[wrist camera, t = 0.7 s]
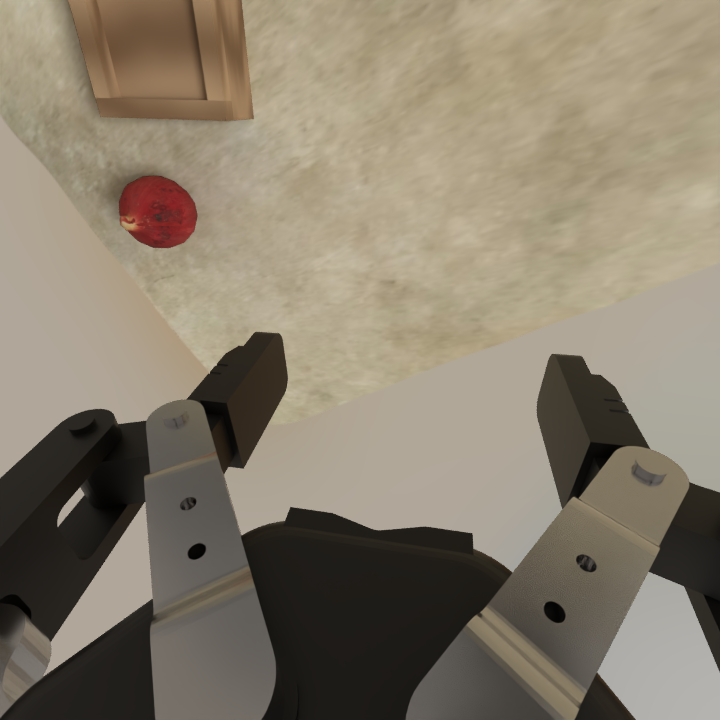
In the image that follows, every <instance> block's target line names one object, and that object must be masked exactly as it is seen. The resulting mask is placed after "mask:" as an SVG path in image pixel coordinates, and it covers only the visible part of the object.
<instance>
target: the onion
mask: <svg viewBox="0 0 720 720" xmlns="http://www.w3.org/2000/svg"><path fill="white" fill-rule="evenodd" d="M119 213H120V225H121V226H122V227H124V228H125V230H126V231H128V232H129V233H130V234H131V235H132V236H133V237H134V238H135V239H137V240H138V241H139V242H141V243H143V244H146V245H148V246H150V247H153V248H171V247H174V246H176V245H179V244H182V243H184V242H185V241H186V240H187V239H188V238H189V237H190V235H191V234H192V233H193V232H194V230H195V225H196V221H197V211H196V207H195V203H194V201H193V200H192V198H191V197H190V195H189V194H188V192H187V191H186V190H184V189H183V188H182V187H181V186H179V185H178V184H177V183H175V182H174V181H172V180H169V179H167V178H164V177H161V176H146V177H141V178H139V179H137V180H135V181H133V182H131V183H130V184H128V185H127V186H126V187H125V188H124V190H123V193H122V195H121V198H120V201H119Z"/></svg>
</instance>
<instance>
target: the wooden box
mask: <svg viewBox="0 0 720 720" xmlns="http://www.w3.org/2000/svg"><path fill="white" fill-rule="evenodd" d="M68 1H69V4H70V8H71V12H72V15H73V19H74V22H75V26H76V30H77V33H78V37H79V41H80V44H81V48H82V51H83V55H84V59H85V62H86V66H87V69H88V73H89V77H90V80H91V84H92V87H93V91H94V95H95V98H96V102H97V105H98V109H99V113H100V116H101V117H119V118H153V119H186V120H219V121H229V120H242V119H254V115H253V106H252V96H251V87H250V77H249V68H248V58H247V49H246V39H245V29H244V20H243V10H242V1H241V0H68Z"/></svg>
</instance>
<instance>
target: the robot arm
mask: <svg viewBox="0 0 720 720" xmlns="http://www.w3.org/2000/svg"><path fill="white" fill-rule="evenodd" d="M287 381H288V374H287V367H286V360H285V353H284V346H283V340H282V337H281V335H280V334H279V333H267V332H255V333H254V334H253V335H252V336H251V338H250V339H249V340H248V341H247V342H246V344H245V345H244V346H238V347H236V348H234V349H233V350H231V351H229V352H228V353H226V354H225V355H224V356H223V357H222V359H221V360H220V361H219V362H218V363H217V366H215V367H214V368H213V369H212V370H211V371H210V374H208V375H207V376H206V377H205V378H204V380H203V381H202V382H201V383H200V384H199V386H198V387H197V388H196V389H195V390H194V391H193V392H192V394H191V395H190V396H189V397H188V398H187V399H186V400H177V401H173V402H170V403H167V404H165V405H163V406H161V407H159V408H158V409H156V410H155V411H154V412H153V413H152V414H151V415H150V416H149V417H148V419H147V421H141V422H133V423H125V424H118V423H117V421H116V419H115V416H114V414H113V413H112V412H110V411H108V410H105V409H93V410H87V411H84V412H81V413H78V414H75V415H73V416H71V417H69V418H67V419H66V420H64V421H63V422H61V423H60V424H59V425H58V426H57V427H56V428H55V429H53V430H52V431H51V432H50V433H49V434H48V435H47V436H46V437H45V438H44V439H43V440H41V441H40V442H39V443H38V444H37V445H36V446H35V447H34V448H33V449H32V450H31V451H29V452H28V453H27V454H26V455H25V456H24V457H23V458H22V459H21V460H20V461H19V462H17V463H16V464H15V465H14V466H13V467H12V468H11V469H10V470H9V471H8V472H7V473H6V474H5V475H4V476H2V477H1V478H0V720H636V719H635V718H634V717H633V716H632V715H631V713H630V712H629V711H628V710H627V708H626V707H625V706H624V705H623V704H622V702H621V701H620V700H619V699H618V697H617V696H616V695H615V694H614V693H613V691H612V690H611V689H610V688H609V686H608V685H607V684H606V683H605V682H604V680H603V679H602V678H601V677H600V675H599V674H598V673H597V671H598V669H599V667H600V665H601V663H602V661H603V659H604V657H605V656H606V653H607V652H608V649H609V648H610V646H611V644H612V641H613V639H614V638H615V636H616V634H617V632H618V630H619V628H620V626H621V624H622V622H623V620H624V618H625V616H626V614H627V613H628V611H629V609H630V607H631V605H632V603H633V601H634V599H635V597H636V595H637V593H638V591H639V589H640V587H641V585H642V583H643V581H644V579H645V577H646V575H647V573H648V572H651V573H653V574H656V575H658V576H661V577H663V578H665V579H668V580H670V581H673V582H675V583H678V584H680V585H682V586H684V587H685V589H686V591H687V594H688V596H689V599H690V601H691V604H692V606H693V609H694V611H695V613H696V616H697V618H698V621H699V623H700V625H701V628H702V630H703V632H704V635H705V638H706V640H707V642H708V645H709V647H710V649H711V652H712V654H713V657H714V659H715V662H716V664H717V666H718V669H719V671H720V493H719V492H716V491H713V490H710V489H707V488H704V487H701V486H698V485H695V484H692V483H690V482H689V479H688V477H687V475H686V473H685V472H684V471H683V469H682V468H681V467H680V466H679V465H678V464H676V463H675V462H674V461H673V460H671V459H670V458H668V457H667V456H665V455H663V454H661V453H659V452H656V451H654V450H651V449H650V448H649V446H648V444H647V442H646V441H645V439H644V437H643V436H642V433H641V432H640V430H639V429H638V426H637V425H636V423H635V421H634V419H633V418H632V416H631V414H629V413H628V412H629V411H628V409H627V407H626V405H625V404H624V403H622V398H621V396H620V395H619V393H618V391H617V389H616V388H615V386H613V385H612V384H611V383H609V382H608V381H607V380H606V379H605V378H603V377H602V376H601V375H593V374H591V373H590V371H589V369H588V367H587V365H586V363H585V361H584V359H583V357H581V356H574V355H560V354H552V355H551V356H550V358H549V360H548V364H547V367H546V371H545V374H544V378H543V382H542V386H541V389H540V392H539V396H538V401H537V418H538V422H539V425H540V429H541V433H542V436H543V440H544V443H545V447H546V451H547V455H548V458H549V462H550V466H551V469H552V473H553V477H554V480H555V484H556V487H557V491H558V495H559V499H560V502H561V506H562V511H561V512H560V513H559V515H558V516H557V517H556V518H555V520H554V521H553V522H552V524H551V525H550V526H549V527H548V529H547V530H546V531H545V532H544V534H543V535H542V536H541V537H540V539H539V540H538V541H537V543H536V544H535V545H534V547H533V548H532V549H531V550H530V551H529V553H528V554H527V555H526V556H525V558H524V559H523V560H522V562H521V563H520V564H519V565H518V567H517V568H516V569H515V570H514V572H513V573H512V572H511V571H510V570H509V569H507V568H506V567H505V566H504V565H502V564H501V563H499V562H498V561H496V560H495V559H493V558H492V557H489V556H487V555H486V554H484V553H482V552H480V551H477V550H475V549H473V535H472V533H466V532H459V531H452V530H445V529H438V528H431V527H415V528H404V529H393V530H381V531H380V530H379V531H378V530H373V529H370V528H368V527H365V526H363V525H360V524H358V523H356V522H353V521H351V520H348V519H346V518H343V517H340V516H338V515H336V514H333V513H327V512H321V511H313V510H306V509H299V508H293V507H290V510H289V512H288V515H287V518H286V520H285V521H282V522H276V523H271V524H267V525H265V526H261V527H258V528H256V529H254V530H251V531H249V532H247V533H245V534H244V535H242V536H241V532H240V529H239V526H238V522H237V519H236V515H235V512H234V509H233V505H232V502H231V498H230V495H229V491H228V488H227V484H226V481H225V478H224V473H225V472H226V470H227V468H228V467H236V468H244V467H245V465H246V463H247V461H248V459H249V457H250V456H251V454H252V452H253V450H254V448H255V447H256V445H257V443H258V441H259V439H260V438H261V436H262V434H263V432H264V430H265V428H266V427H267V425H268V423H269V421H270V419H271V417H272V416H273V414H274V412H275V410H276V408H277V406H278V405H279V403H280V401H281V399H282V397H283V395H284V394H285V391H286V388H287ZM80 487H81V489H82V491H83V492H84V494H85V495H84V496H83V498H82V499H81V500H80V501H79V502H78V504H77V505H76V506H75V507H74V509H73V510H72V511H71V512H70V513H69V515H68V516H67V517H66V518H65V519H64V521H63V522H62V523H61V524H60V525H59V527H57V519H58V516H59V513H60V511H61V509H62V507H63V506H64V505H65V504H66V503H67V501H68V500H69V499H70V498H71V497H72V496H73V494H74V493H75V492H76V491H77V490H78V489H79V488H80ZM144 502H146V514H147V527H148V541H149V554H150V566H151V579H152V593H153V599H151V600H150V601H149V602H147V603H146V604H145V605H143V606H142V607H140V608H139V609H137V610H136V611H135V612H133V613H132V614H131V615H129V616H128V617H126V618H125V619H124V620H122V621H121V622H119V623H118V624H117V625H115V626H114V627H112V628H111V629H110V630H108V631H107V632H105V633H104V634H103V635H101V636H100V637H98V638H97V639H96V640H94V641H93V642H91V643H90V644H89V645H87V646H86V647H84V648H83V649H82V650H80V651H79V652H77V653H76V654H75V655H73V656H72V657H71V658H69V659H68V660H66V661H65V662H63V663H62V664H61V665H59V666H58V667H56V668H55V669H54V670H52V671H51V672H49V673H48V674H47V675H45V676H43V674H44V673H45V671H46V669H47V667H48V663H49V661H50V657H51V643H50V642H51V641H52V639H53V638H54V636H55V634H56V633H57V632H58V630H59V629H60V627H61V626H62V624H63V623H64V621H65V620H66V618H67V617H68V615H69V614H70V612H71V611H72V609H73V608H74V606H75V605H76V603H77V602H78V600H79V599H80V597H81V596H82V594H83V593H84V591H85V590H86V588H87V587H88V586H89V584H90V583H91V581H92V580H93V578H94V576H95V575H96V574H97V572H98V571H99V569H100V568H101V566H102V565H103V563H104V562H105V560H106V559H107V557H108V556H109V554H110V553H111V551H112V550H113V548H114V547H115V545H116V544H117V542H118V540H119V539H120V538H121V536H122V535H123V533H124V532H125V530H126V529H127V527H128V526H129V524H130V523H131V521H132V520H133V518H134V517H135V515H136V514H137V512H138V511H139V510H140V508H141V506H142V505H143V504H144Z"/></svg>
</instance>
